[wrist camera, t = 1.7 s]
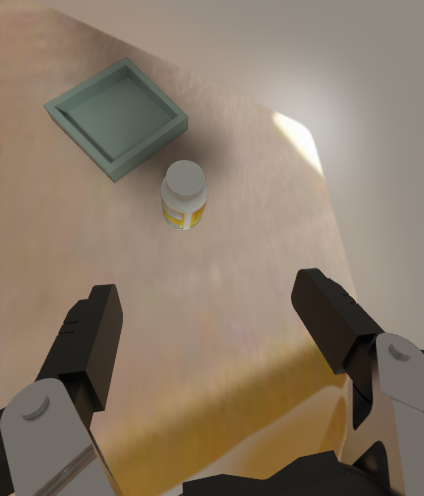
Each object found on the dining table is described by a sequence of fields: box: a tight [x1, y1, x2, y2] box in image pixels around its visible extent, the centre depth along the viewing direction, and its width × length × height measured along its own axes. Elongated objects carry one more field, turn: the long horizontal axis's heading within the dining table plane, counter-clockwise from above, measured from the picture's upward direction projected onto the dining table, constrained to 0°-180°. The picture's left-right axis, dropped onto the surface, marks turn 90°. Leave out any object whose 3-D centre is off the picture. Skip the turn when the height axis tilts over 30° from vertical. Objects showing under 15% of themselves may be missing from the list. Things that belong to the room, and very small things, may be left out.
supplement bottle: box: [160, 160, 208, 230], centre depth 28 cm, size 5×5×10 cm
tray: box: [43, 57, 188, 183], centre depth 33 cm, size 14×13×2 cm
